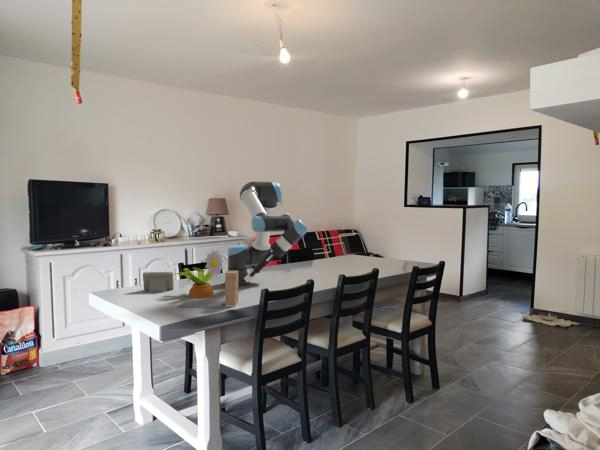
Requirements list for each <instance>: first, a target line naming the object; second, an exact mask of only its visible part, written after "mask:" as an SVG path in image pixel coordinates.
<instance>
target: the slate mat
mask: <svg viewBox="0 0 600 450" xmlns="http://www.w3.org/2000/svg"><path fill="white" fill-rule="evenodd" d="M223 305H225V300H221V299H220V300H216V299H215V300H213V299H212V300H210V299H202V300H201V299H185V300H184V301H183V302H181V303H180V304H179V305H178V306H177V308H200V307H203V308H207V309H208V308H210V309H211V308H213V309H217V308H218V309H221V308H222V307H223Z"/></svg>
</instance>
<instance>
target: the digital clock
mask: <svg viewBox="0 0 600 450" xmlns="http://www.w3.org/2000/svg"><path fill="white" fill-rule="evenodd" d="M142 281H143V290H144V291H148V293H166V292H167V291H170V290H174V287H175V286H174V285H175V283H174V272H173V271H145V272H143V273H142Z"/></svg>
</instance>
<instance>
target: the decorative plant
mask: <svg viewBox="0 0 600 450" xmlns="http://www.w3.org/2000/svg"><path fill="white" fill-rule="evenodd" d="M206 255H207V256H206V257H205V258H204V260H205V262H206V265H205V267H204V269H201V268H199V267H196V266H195V267H194V266H193V267H192V269H193V270H195V271H198V276H197V275H196V274H195V273H193V272H192V271H191V270H190V269H189V268H188V267H187V268H185V267H184V268H183V269H182V271H180V272H177V273H175V272H173V275H178V276H186V277H187V278H188V280H187V281H188V282H190V281H192V282H193V284H192V286H191V287H190V289H189V291H188V297H189V298H194V299H206V298H212V297H214V296H215V294H214V290H213V288H212V286H211V284H210V283H209V282H208V281H209V280H211V278H212V277H214V276H215V277H217V276H218V275H219V274H221V271H222V270H223V269H224V267H223V263H224V260H223V258H222V256H223V254H219V252H218V250H214V249H212V250H211V252H209V253H207V254H206ZM207 269H208V270H207ZM206 270H207V273H205V271H206Z"/></svg>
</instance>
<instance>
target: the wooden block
mask: <svg viewBox="0 0 600 450" xmlns="http://www.w3.org/2000/svg"><path fill="white" fill-rule="evenodd" d="M224 274H225V276H224V277H225V278H224V287H225V288H224V291H225V293H224V301H225V303H224V306H225V307H237V305H238V303H239V286H238V271H228V270H227V271H226V272H224Z"/></svg>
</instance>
